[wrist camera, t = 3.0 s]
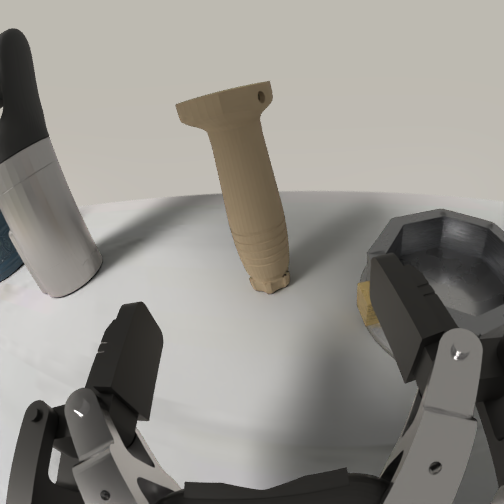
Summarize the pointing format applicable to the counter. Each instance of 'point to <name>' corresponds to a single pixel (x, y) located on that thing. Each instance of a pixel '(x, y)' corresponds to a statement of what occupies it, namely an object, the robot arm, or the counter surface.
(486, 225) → the grey shallow octagonal dish
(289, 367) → the counter surface
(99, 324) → the counter surface
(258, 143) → the handle
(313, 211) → the counter surface
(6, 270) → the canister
